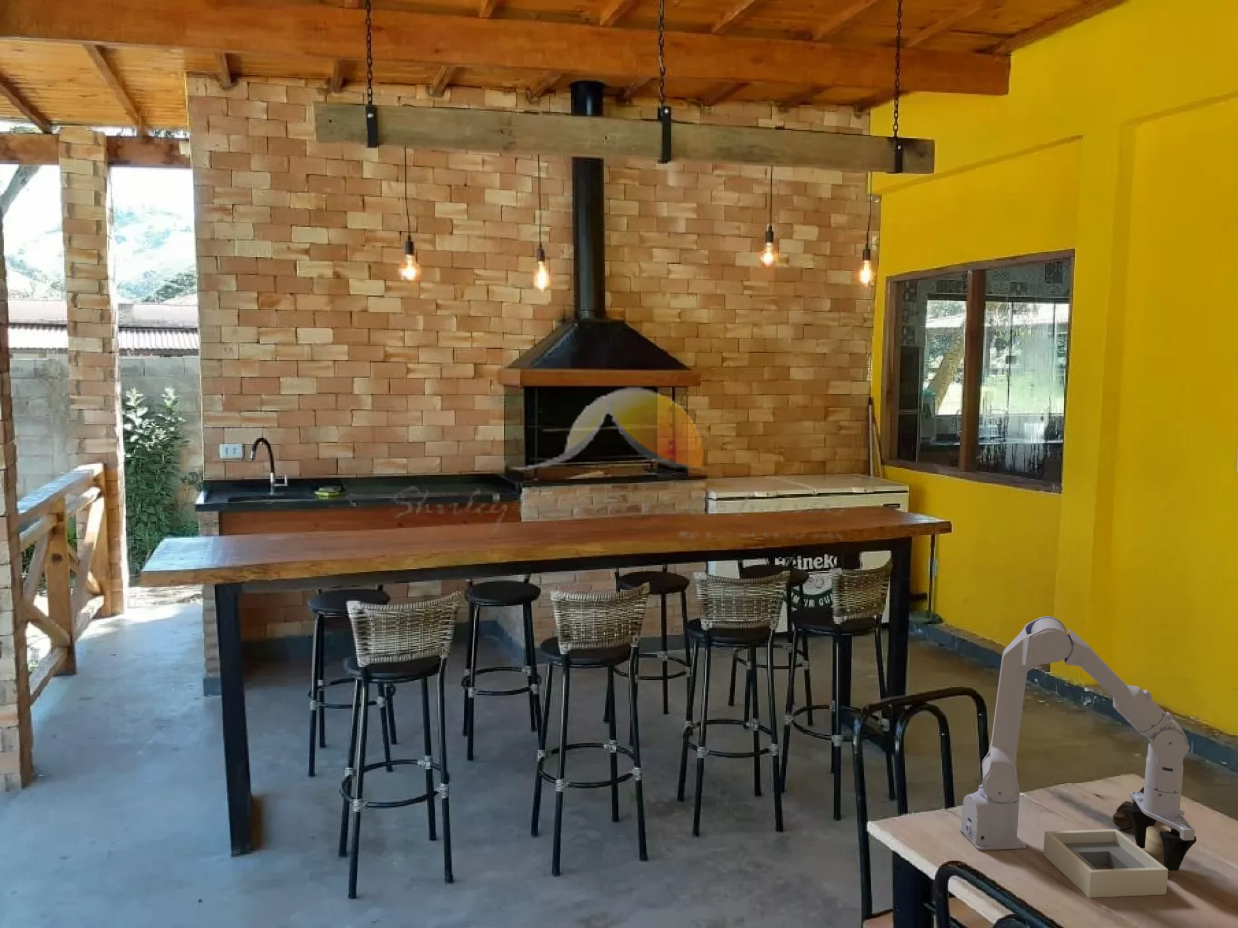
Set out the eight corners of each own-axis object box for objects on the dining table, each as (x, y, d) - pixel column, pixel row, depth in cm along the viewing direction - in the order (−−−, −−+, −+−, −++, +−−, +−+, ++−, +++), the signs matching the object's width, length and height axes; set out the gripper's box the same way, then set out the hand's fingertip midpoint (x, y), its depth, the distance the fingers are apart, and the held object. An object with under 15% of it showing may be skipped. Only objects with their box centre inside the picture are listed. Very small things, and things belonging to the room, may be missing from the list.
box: (1088, 897, 156) (1090, 872, 155) (1043, 854, 170) (1044, 831, 169) (1166, 894, 157) (1168, 869, 157) (1114, 852, 171) (1116, 828, 171)
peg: (1153, 875, 163) (1156, 837, 163) (1138, 863, 167) (1141, 826, 166) (1174, 874, 164) (1177, 836, 163) (1159, 862, 168) (1162, 825, 167)
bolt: (1114, 838, 180) (1149, 814, 189) (1138, 835, 176) (1172, 811, 185) (1101, 808, 182) (1135, 786, 191) (1124, 804, 178) (1158, 782, 187)
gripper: (1213, 804, 157) (1207, 879, 158) (1156, 768, 171) (1150, 837, 173) (1175, 805, 156) (1169, 881, 158) (1120, 769, 171) (1115, 838, 172)
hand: (1157, 858), depth 165 cm, fingers open, 7 cm apart
